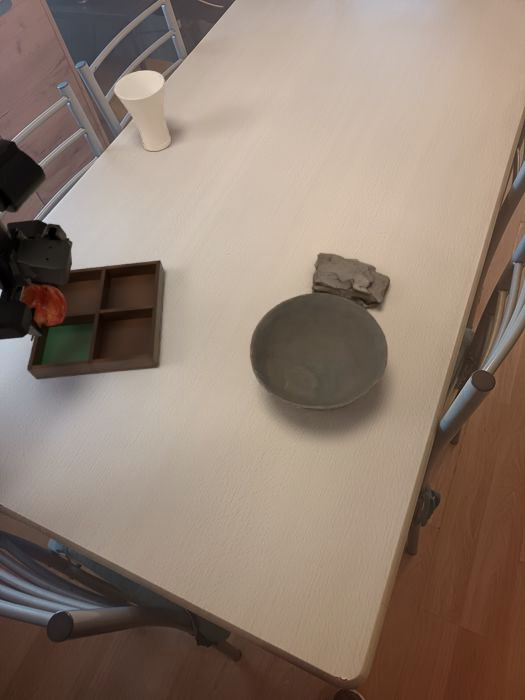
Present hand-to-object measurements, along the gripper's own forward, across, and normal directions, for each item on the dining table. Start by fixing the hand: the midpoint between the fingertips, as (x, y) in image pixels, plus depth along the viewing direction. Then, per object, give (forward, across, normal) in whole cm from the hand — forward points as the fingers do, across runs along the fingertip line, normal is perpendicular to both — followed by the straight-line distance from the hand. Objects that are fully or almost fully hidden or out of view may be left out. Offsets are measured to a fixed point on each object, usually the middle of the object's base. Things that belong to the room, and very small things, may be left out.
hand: (44, 314), depth 73 cm
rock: (+12, +9, -46) cm, 49 cm away
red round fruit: (+2, 0, 0) cm, 2 cm away
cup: (+12, +56, -10) cm, 58 cm away
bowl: (+12, -9, -39) cm, 42 cm away
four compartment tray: (+12, +7, -4) cm, 14 cm away
